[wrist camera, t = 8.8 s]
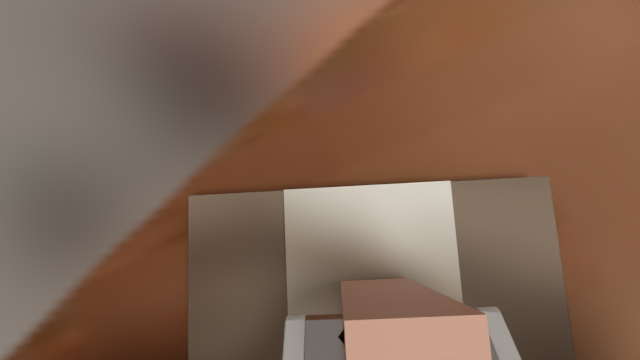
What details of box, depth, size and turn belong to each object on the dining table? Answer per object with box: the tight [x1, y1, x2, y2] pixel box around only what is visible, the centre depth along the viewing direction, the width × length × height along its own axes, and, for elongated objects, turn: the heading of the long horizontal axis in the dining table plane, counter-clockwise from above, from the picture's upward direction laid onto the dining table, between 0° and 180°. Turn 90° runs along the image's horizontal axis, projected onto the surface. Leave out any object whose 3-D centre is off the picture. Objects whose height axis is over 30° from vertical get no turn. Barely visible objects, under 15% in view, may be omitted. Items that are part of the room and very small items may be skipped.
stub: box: [341, 278, 492, 360], centre depth 11 cm, size 3×2×8 cm
